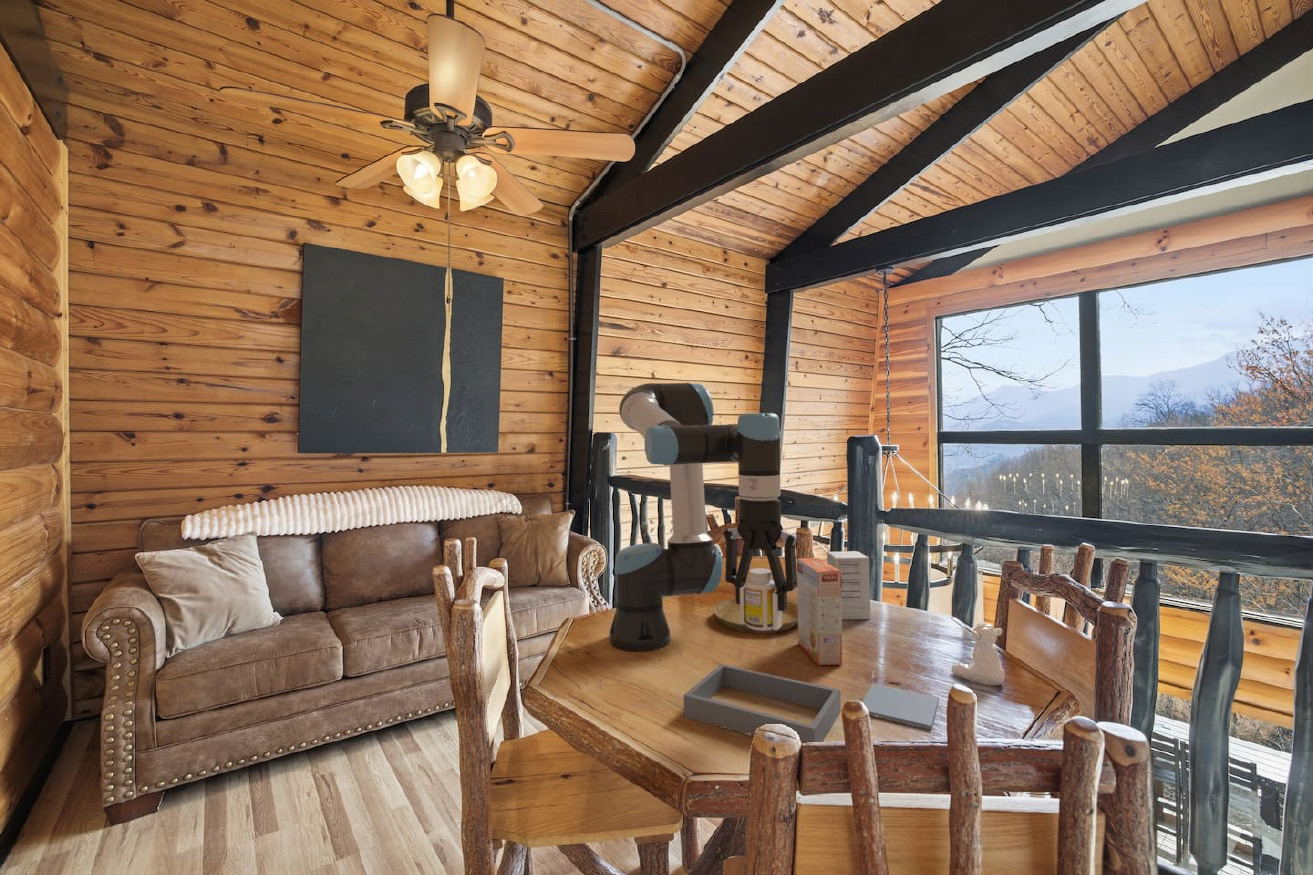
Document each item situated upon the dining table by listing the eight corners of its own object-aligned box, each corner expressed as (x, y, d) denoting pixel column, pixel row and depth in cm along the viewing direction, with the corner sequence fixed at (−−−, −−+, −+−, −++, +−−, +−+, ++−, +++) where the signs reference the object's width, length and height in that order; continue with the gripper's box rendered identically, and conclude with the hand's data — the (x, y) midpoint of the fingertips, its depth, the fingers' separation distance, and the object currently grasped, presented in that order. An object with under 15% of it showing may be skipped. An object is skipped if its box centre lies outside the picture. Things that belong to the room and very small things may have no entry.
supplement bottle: (773, 621, 108) (772, 566, 108) (779, 631, 102) (778, 574, 102) (743, 621, 108) (742, 567, 108) (747, 632, 102) (747, 574, 102)
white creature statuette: (990, 669, 123) (990, 613, 123) (1021, 687, 114) (1021, 626, 114) (949, 672, 121) (949, 616, 121) (978, 690, 113) (977, 630, 113)
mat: (858, 713, 105) (858, 708, 105) (872, 687, 115) (872, 683, 115) (931, 730, 98) (931, 725, 98) (938, 701, 109) (938, 697, 109)
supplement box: (871, 619, 155) (870, 557, 155) (837, 620, 156) (836, 558, 155) (859, 608, 165) (858, 550, 165) (827, 609, 165) (826, 550, 165)
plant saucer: (721, 639, 144) (721, 626, 144) (707, 609, 168) (707, 598, 168) (816, 635, 145) (816, 622, 145) (789, 606, 169) (789, 595, 169)
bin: (683, 716, 105) (683, 694, 104) (721, 683, 118) (721, 663, 118) (815, 753, 92) (815, 729, 92) (840, 711, 106) (840, 689, 105)
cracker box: (844, 665, 126) (842, 570, 126) (817, 667, 125) (815, 571, 125) (821, 642, 140) (820, 556, 140) (797, 643, 139) (796, 557, 139)
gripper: (704, 497, 106) (706, 622, 107) (803, 503, 96) (804, 640, 97) (721, 493, 113) (723, 610, 113) (816, 498, 103) (817, 627, 103)
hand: (761, 624), depth 105 cm, fingers closed on supplement bottle, 6 cm apart
